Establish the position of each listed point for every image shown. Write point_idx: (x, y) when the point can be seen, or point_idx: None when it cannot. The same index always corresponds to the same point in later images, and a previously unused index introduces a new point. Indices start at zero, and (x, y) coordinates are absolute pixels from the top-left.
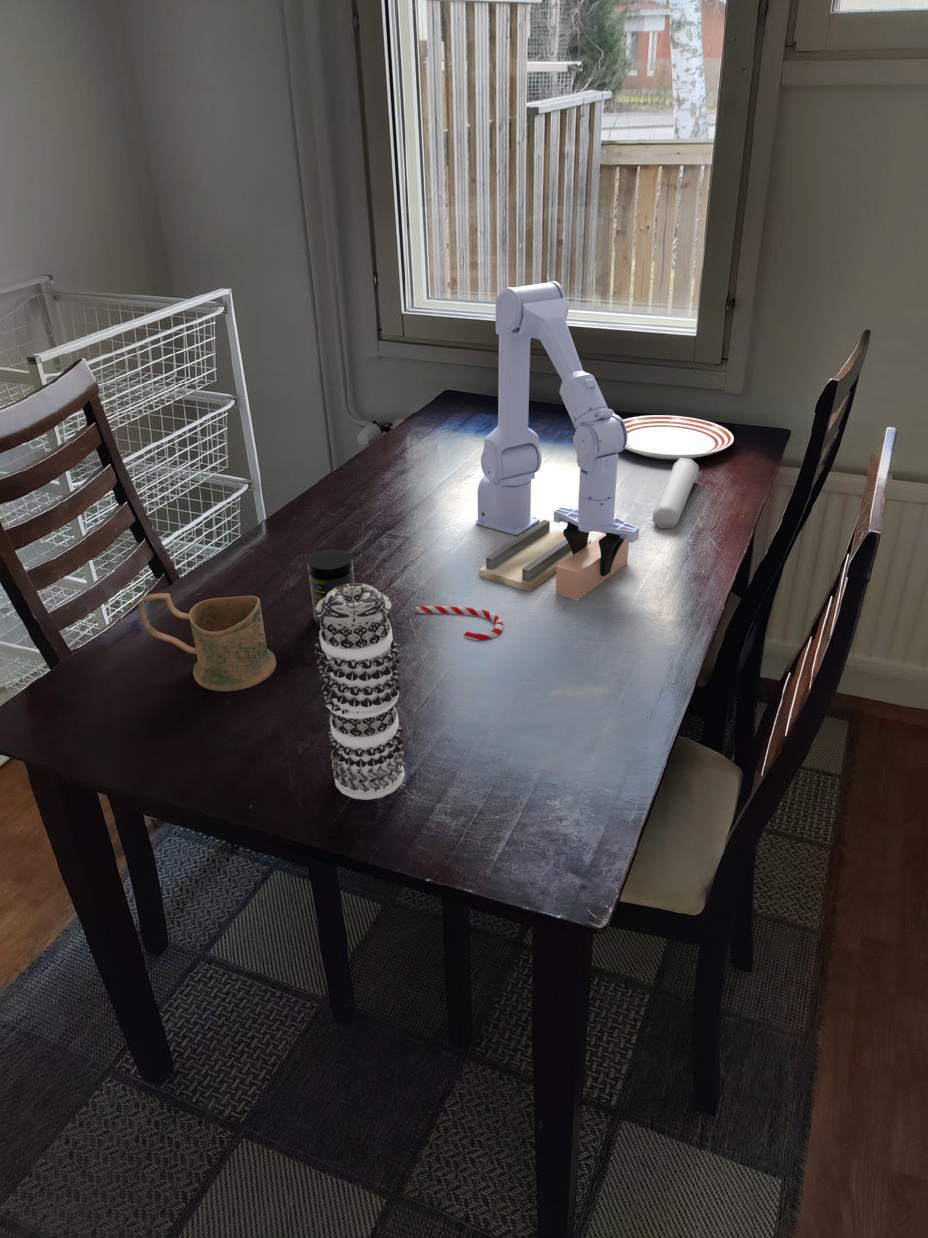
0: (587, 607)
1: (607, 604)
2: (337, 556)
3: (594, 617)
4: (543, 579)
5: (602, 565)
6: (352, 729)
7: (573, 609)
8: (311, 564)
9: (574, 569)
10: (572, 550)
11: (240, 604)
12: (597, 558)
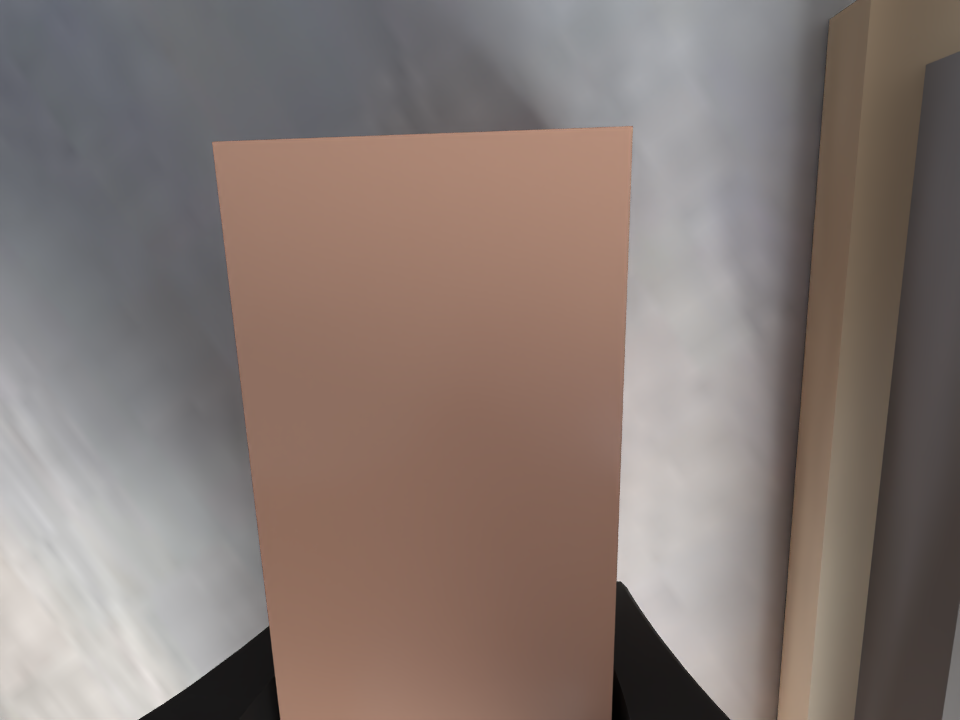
0: (220, 132)
1: (136, 281)
2: None
3: (71, 16)
4: (817, 298)
5: None
6: None
7: (287, 15)
8: None
9: (330, 216)
10: (701, 708)
11: None
12: (291, 677)
